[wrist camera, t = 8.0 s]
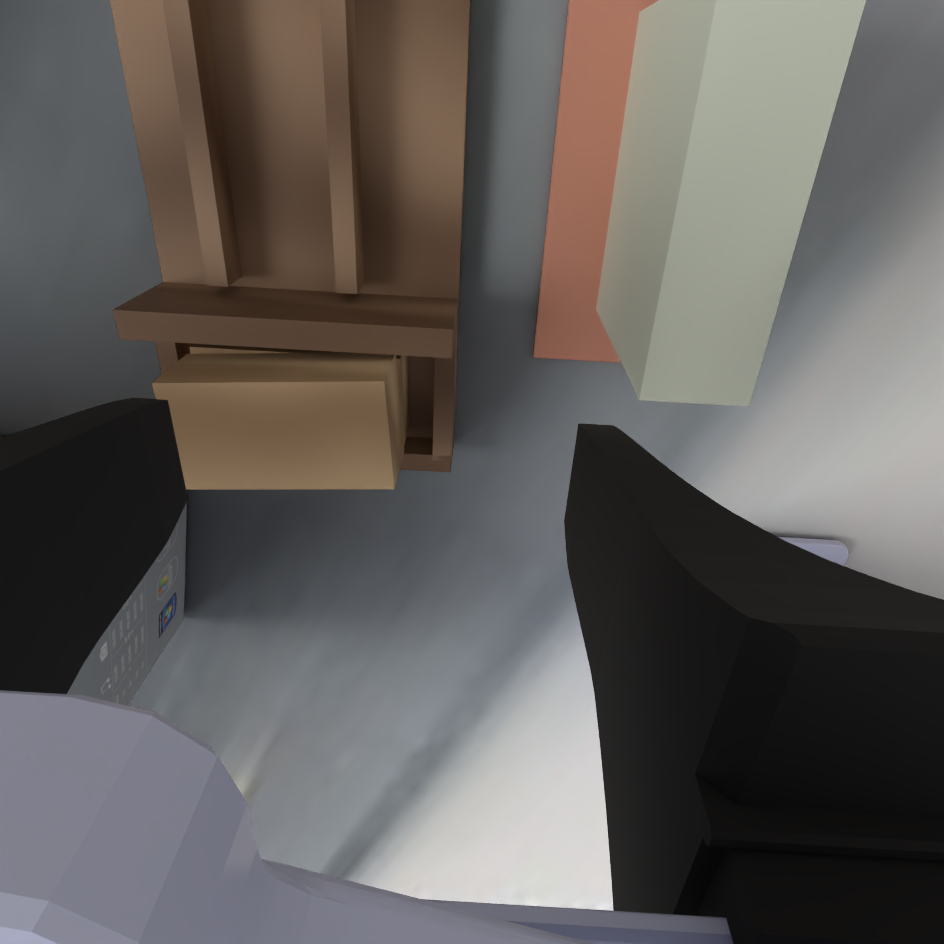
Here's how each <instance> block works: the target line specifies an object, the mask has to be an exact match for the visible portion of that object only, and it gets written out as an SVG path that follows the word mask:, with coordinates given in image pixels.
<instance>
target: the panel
mask: <svg viewBox="0 0 944 944" xmlns="http://www.w3.org/2000/svg"><path fill="white" fill-rule="evenodd" d="M865 3H866V0H658V1H657V2H655V3H654V4H652V5H650V6H649V7H647V8H645V9H644V10H642V11H640V12H639V18H638V25H637V32H636V39H635V46H634V52H633V59H632V66H631V73H630V80H629V87H628V94H627V100H626V107H625V114H624V121H623V128H622V135H621V142H620V148H619V155H618V162H617V169H616V176H615V183H614V190H613V196H612V203H611V210H610V217H609V224H608V231H607V238H606V244H605V251H604V258H603V265H602V272H601V279H600V286H599V292H598V299H597V306H596V311H597V313H598V315H599V317H600V319H601V321H602V323H603V325H604V328H605V330H606V332H607V334H608V336H609V338H610V340H611V342H612V344H613V346H614V349H615V351H616V353H617V355H618V357H619V359H620V361H621V363H622V365H623V368H624V370H625V372H626V374H627V376H628V378H629V380H630V382H631V384H632V386H633V389H634V391H635V393H636V395H637V397H638V399H639V400H643V401H660V402H678V403H695V404H713V405H730V406H748V407H749V405H750V402H751V398H752V395H753V391H754V388H755V384H756V381H757V378H758V374H759V371H760V367H761V364H762V360H763V357H764V353H765V350H766V346H767V343H768V339H769V336H770V332H771V329H772V325H773V322H774V319H775V315H776V312H777V308H778V305H779V301H780V298H781V294H782V291H783V287H784V284H785V280H786V277H787V273H788V270H789V266H790V263H791V260H792V256H793V253H794V249H795V246H796V242H797V239H798V235H799V232H800V228H801V225H802V221H803V218H804V214H805V211H806V207H807V204H808V201H809V197H810V194H811V190H812V187H813V183H814V180H815V176H816V173H817V169H818V166H819V162H820V159H821V155H822V152H823V148H824V145H825V142H826V138H827V135H828V131H829V128H830V124H831V121H832V117H833V114H834V110H835V107H836V103H837V100H838V96H839V93H840V89H841V86H842V82H843V79H844V76H845V72H846V69H847V65H848V62H849V58H850V55H851V51H852V48H853V44H854V41H855V37H856V34H857V30H858V27H859V23H860V20H861V17H862V13H863V10H864V6H865Z"/></svg>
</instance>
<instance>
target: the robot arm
mask: <svg viewBox="0 0 944 944" xmlns="http://www.w3.org/2000/svg"><path fill="white" fill-rule="evenodd" d="M187 500H188V496H187V491H186V486H185V482H184V477H183V472H182V467H181V462H180V457H179V452H178V447H177V442H176V438H175V433H174V428H173V423H172V418H171V413H170V408H169V403H168V400H161V399H144V398H130V399H124V400H119V401H114V402H110V403H107V404H103V405H100V406H96V407H93V408H90V409H86V410H83V411H80V412H77V413H74V414H71V415H68V416H65V417H62V418H59V419H56V420H53V421H50V422H47V423H44V424H41V425H38V426H35V427H32V428H29V429H27V430H24V431H21V432H18V433H15V434H11V435H8V436H5V437H2V438H0V944H944V600H942V599H939V598H935V597H932V596H928V595H925V594H921V593H918V592H915V591H912V590H909V589H905V588H903V587H900V586H897V585H894V584H891V583H888V582H886V581H883V580H880V579H877V578H874V577H871V576H868V575H866V574H863V573H860V572H857V571H855V570H852V569H850V568H847V567H845V563H846V561H847V559H848V556H849V551H848V549H847V547H846V546H845V545H844V544H843V543H842V542H841V541H837V540H822V539H805V538H788V537H777V536H775V535H773V534H771V533H769V532H767V531H765V530H763V529H761V528H759V527H758V526H756V525H754V524H752V523H750V522H749V521H747V520H745V519H743V518H741V517H740V516H738V515H736V514H734V513H732V512H731V511H729V510H728V509H726V508H724V507H723V506H721V505H719V504H718V503H716V502H715V501H713V500H712V499H710V498H709V497H707V496H706V495H705V494H703V493H702V492H700V491H699V490H697V489H696V488H694V487H693V486H691V485H690V484H689V483H687V482H686V481H684V480H683V479H682V478H680V477H679V476H678V475H676V474H675V473H674V472H672V471H671V470H670V469H669V468H667V467H666V466H665V465H663V464H662V463H661V462H660V461H658V460H657V459H656V458H655V457H653V456H652V455H651V454H650V453H648V452H647V451H646V450H645V449H644V448H642V447H641V446H640V445H639V444H637V443H636V442H635V441H634V440H633V439H631V438H630V437H629V436H628V435H626V434H625V433H624V432H622V431H621V430H620V429H618V428H617V427H615V426H611V425H594V424H578V431H577V438H576V444H575V451H574V458H573V465H572V472H571V479H570V486H569V492H568V499H567V506H566V513H565V520H564V523H565V538H566V551H567V563H568V570H569V575H570V579H571V584H572V589H573V593H574V598H575V602H576V607H577V611H578V616H579V620H580V625H581V629H582V634H583V638H584V642H585V647H586V651H587V656H588V660H589V665H590V669H591V675H592V681H593V687H594V692H595V701H596V710H597V720H598V729H599V738H600V748H601V758H602V769H603V780H604V790H605V801H606V813H607V826H608V838H609V851H610V864H611V877H612V892H613V908H614V911H606V910H590V909H573V908H557V907H540V906H524V905H507V904H490V903H474V902H457V901H441V900H424V899H418V898H414V897H410V896H406V895H402V894H398V893H394V892H391V891H387V890H383V889H379V888H375V887H371V886H367V885H363V884H359V883H355V882H352V881H348V880H344V879H340V878H336V877H332V876H328V875H324V874H320V873H316V872H312V871H309V870H305V869H301V868H297V867H293V866H289V865H285V864H281V863H277V862H273V861H268V860H264V859H261V857H260V855H259V853H258V850H257V847H256V843H255V838H254V833H253V828H252V823H251V819H250V814H249V809H248V804H247V802H246V800H245V799H244V797H243V795H242V794H241V792H240V791H239V789H238V787H237V786H236V784H235V783H234V781H233V780H232V778H231V776H230V775H229V773H228V772H227V770H226V768H225V767H224V765H223V764H222V762H221V761H220V759H219V757H218V756H217V754H216V753H215V751H214V750H213V748H212V747H210V746H209V745H207V744H206V743H204V742H202V741H201V740H199V739H197V738H196V737H194V736H193V735H191V734H189V733H188V732H186V731H185V730H183V729H181V728H180V727H178V726H176V725H175V724H173V723H172V722H170V721H168V720H167V719H165V718H163V717H162V716H160V715H159V714H157V713H155V712H153V711H148V710H144V709H140V708H135V707H131V706H127V705H122V704H118V703H114V702H109V701H105V700H100V699H96V698H92V697H87V696H83V695H70V694H67V693H68V691H69V689H70V687H71V686H72V684H73V682H74V680H75V678H76V677H77V675H78V673H79V671H80V669H81V667H82V666H83V664H84V662H85V661H86V659H87V658H88V656H89V654H90V653H91V651H92V650H93V648H94V647H95V645H96V644H97V642H98V640H99V639H100V638H101V636H102V635H103V633H104V632H105V631H106V629H107V628H108V626H109V625H110V624H111V622H112V621H113V619H114V618H115V616H116V615H117V614H118V612H119V611H120V609H121V608H122V607H123V605H124V604H125V602H126V601H127V600H128V598H129V597H130V595H131V594H132V593H133V591H134V590H135V588H136V587H137V586H138V584H139V583H140V581H141V580H142V579H143V577H144V576H145V574H146V573H147V571H148V570H149V569H150V567H151V566H152V564H153V563H154V561H155V560H156V558H157V557H158V556H159V554H160V553H161V551H162V550H163V548H164V547H165V545H166V544H167V542H168V540H169V538H170V536H171V534H172V532H173V530H174V528H175V526H176V524H177V522H178V520H179V518H180V516H181V513H182V511H183V509H184V507H185V505H186V502H187Z"/></svg>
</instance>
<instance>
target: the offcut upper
mask: <svg viewBox="0 0 944 944" xmlns="http://www.w3.org/2000/svg"><path fill="white" fill-rule="evenodd" d="M152 387H153V390H154V394H155V397H156V399H161V400H168V403H169V408H170V413H171V418H172V423H173V428H174V433H175V438H176V442H177V447H178V452H179V457H180V462H181V467H182V472H183V477H184V482H185V486H186V490H228V489H395V485H396V482H397V478H398V474H399V470H400V466H401V462H402V459H403V455H404V443H403V431H402V419H401V407H400V395H399V383H398V371H397V359H396V355H384V354H367V353H349V352H321V353H217V354H186V355H185V356H184V357H182V358H181V359H180V360H179V361H178V362H176V363H175V364H174V365H173V366H172V367H170V368H169V369H168V370H167V371H165V372H164V373H163V374H162V375H161V376H159V377H158V378H157V379H156V380H155V381H153V382H152Z"/></svg>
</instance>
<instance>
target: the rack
mask: <svg viewBox="0 0 944 944" xmlns="http://www.w3.org/2000/svg"><path fill="white" fill-rule="evenodd" d="M110 4H111V9H112V14H113V20H114V25H115V30H116V35H117V41H118V46H119V51H120V57H121V62H122V67H123V72H124V78H125V83H126V88H127V94H128V99H129V104H130V109H131V115H132V120H133V125H134V130H135V136H136V141H137V146H138V152H139V157H140V162H141V167H142V173H143V178H144V183H145V188H146V194H147V199H148V204H149V210H150V215H151V220H152V225H153V231H154V236H155V241H156V247H157V252H158V257H159V262H160V268H161V273H162V278H163V282H162V283H161V284H159V285H157V286H155V287H153V288H152V289H150V290H148V291H146V292H144V293H142V294H141V295H139V296H137V297H135V298H133V299H132V300H130V301H128V302H126V303H124V304H122V305H121V306H119V307H117V308H115V309H113V314H114V319H115V323H116V327H117V331H118V336H119V339H124V340H141V341H155V345H156V350H157V355H158V360H159V365H160V369H161V374H163V373H164V372H165V371H167V370H168V369H169V368H170V367H172V366H173V365H174V364H175V363H176V362H178V361H179V360H180V359H181V358H182V357H184V356H185V355H186V354H191V353H190V348H189V347H190V346H191V345H192V344H210V345H228V346H245V347H263V348H280V349H297V350H315V351H332V352H349V353H367V354H384V355H402V356H409V429H408V433H407V437H406V440H405V444H404V455H403V459H402V462H401V466H400V469H403V470H420V471H438V472H450V471H451V463H452V455H453V447H454V427H455V401H456V375H457V349H458V323H459V298H460V272H461V246H462V220H463V194H464V169H465V143H466V117H467V91H468V65H469V40H470V14H471V0H110Z"/></svg>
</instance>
